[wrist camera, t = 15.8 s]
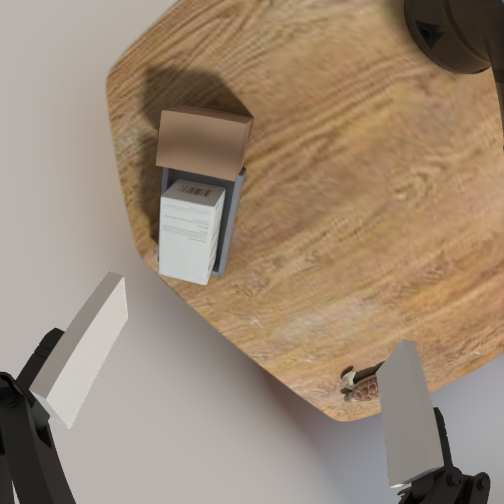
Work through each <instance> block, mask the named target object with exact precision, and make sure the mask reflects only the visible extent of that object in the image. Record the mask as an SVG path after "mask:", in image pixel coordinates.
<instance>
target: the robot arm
mask: <svg viewBox="0 0 504 504" xmlns="http://www.w3.org/2000/svg"><path fill="white" fill-rule="evenodd" d="M404 13H405V19H406V22H407V26H408V28H409V31H410V33H411V35H412V37H413V38H414V40H415V42H416V43H417V45H418V46H419V47H420V49H421V50H422V51H423V52H424V53H425V54H426V55H427V56H428V57H429V58H430V59H431V60H432V61H433V62H435V63H436V64H437V65H439V66H440V67H442V68H444V69H446V70H448V71H451V72H454V73H458V74H478V73H481V72H483V71H485V70H487V69H488V68H489V67H490V66H491V67H492V70H493V74H494V79H495V84H496V89H497V94H498V100H499V105H500V112H501V119H502V127H503V136H504V0H405V3H404ZM503 150H504V146H503ZM127 319H128V312H127V304H126V294H125V284H124V276H123V275H119V274H116V273H113V272H108V274H107V275H106V276H105V278H104V279H103V280H102V281H101V283H100V284H99V285H98V287H97V288H96V289H95V291H94V292H93V293H92V295H91V296H90V298H89V299H88V300H87V301H86V303H85V304H84V306H83V307H82V308H81V310H80V311H79V312H78V314H77V315H76V317H75V318H74V320H73V321H72V323H71V324H70V325H69V327H68V328H67V330H66V331H65V332H64V331H62V330H60V329H58V328H54V329H53V330H51V331H50V332H49V333H47V334H46V335H45V336H44V338H43V339H42V341H41V342H40V344H39V346H38V347H37V348H36V350H35V351H34V353H33V354H32V355H31V357H30V359H29V360H28V362H27V363H26V365H25V366H24V368H23V369H22V371H21V373H20V374H19V376H18V377H17V379H16V380H14V378H13V377H12V376H11V375H10V374H8V373H6V372H0V504H15V503H14V494H13V485H12V481H13V484H14V487H15V491H16V494H17V497H18V500H19V503H20V504H76V502H75V500H74V498H73V495H72V493H71V491H70V488H69V486H68V483H67V480H66V478H65V475H64V472H63V469H62V466H61V463H60V461H59V457H58V454H57V451H56V448H55V445H54V441H53V438H52V434H51V430H50V426H49V423H48V420H49V418H50V416H51V417H52V418H53V420H54V421H55V422H57V423H59V424H61V425H62V426H64V427H66V428H68V429H71V427H72V425H73V423H74V420H75V418H76V416H77V414H78V412H79V410H80V408H81V405H82V404H83V402H84V399H85V398H86V396H87V393H88V391H89V389H90V387H91V385H92V383H93V382H94V380H95V378H96V376H97V374H98V372H99V370H100V368H101V366H102V364H103V362H104V360H105V359H106V357H107V355H108V353H109V351H110V349H111V347H112V346H113V344H114V342H115V340H116V338H117V337H118V335H119V333H120V331H121V329H122V328H123V326H124V324H125V322H126V321H127ZM376 377H377V383H378V389H379V396H380V402H381V409H382V417H383V425H384V433H385V443H386V453H387V465H388V479H389V488H392V487H400V486H404V485H406V484H409V483H411V485H412V486H411V487H408V488H406V489H404V490H402V491H400V492H399V493H398V494H397V495H401V494H403V493H405V494H404V495H403V496H401V498H402V499H401V501H400V502H399V503H398V504H487V501H488V496H489V491H490V478H489V476H488V474H486V473H485V472H481V473H479V474H477V475H475V476H469V475H464V474H462V472H461V471H460V470H459V469H458V468H456V467H454V466H453V464H452V460H451V453H450V448H449V443H448V438H447V436H446V434H447V432H446V429H445V423H444V419H443V416H442V414H441V412H440V411H439V409H438V407H436V408H433V406H432V401H431V397H430V393H429V390H428V386H427V382H426V378H425V375H424V371H423V368H422V364H421V361H420V357H419V354H418V351H417V348H416V345H415V341H408V340H402V341H401V342H400V344H399V345H398V346H397V347H396V349H395V350H394V351H393V352H392V354H391V355H390V356H389V357H388V358H387V360H386V361H385V362H384V363H383V364H382V366H381V367H380V368H379V369H378V370H377V372H376Z"/></svg>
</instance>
